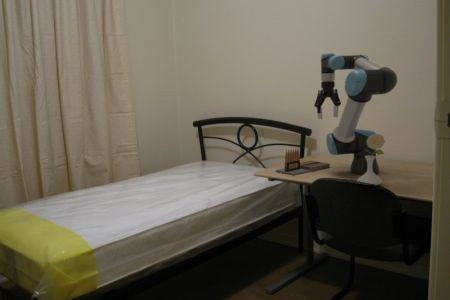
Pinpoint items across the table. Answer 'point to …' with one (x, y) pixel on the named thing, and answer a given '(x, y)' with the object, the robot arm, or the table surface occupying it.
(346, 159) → the table surface
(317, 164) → the walnut caddy
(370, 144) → the flower in vase
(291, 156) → the ammunition clip
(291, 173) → the slate mat
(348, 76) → the robot arm
